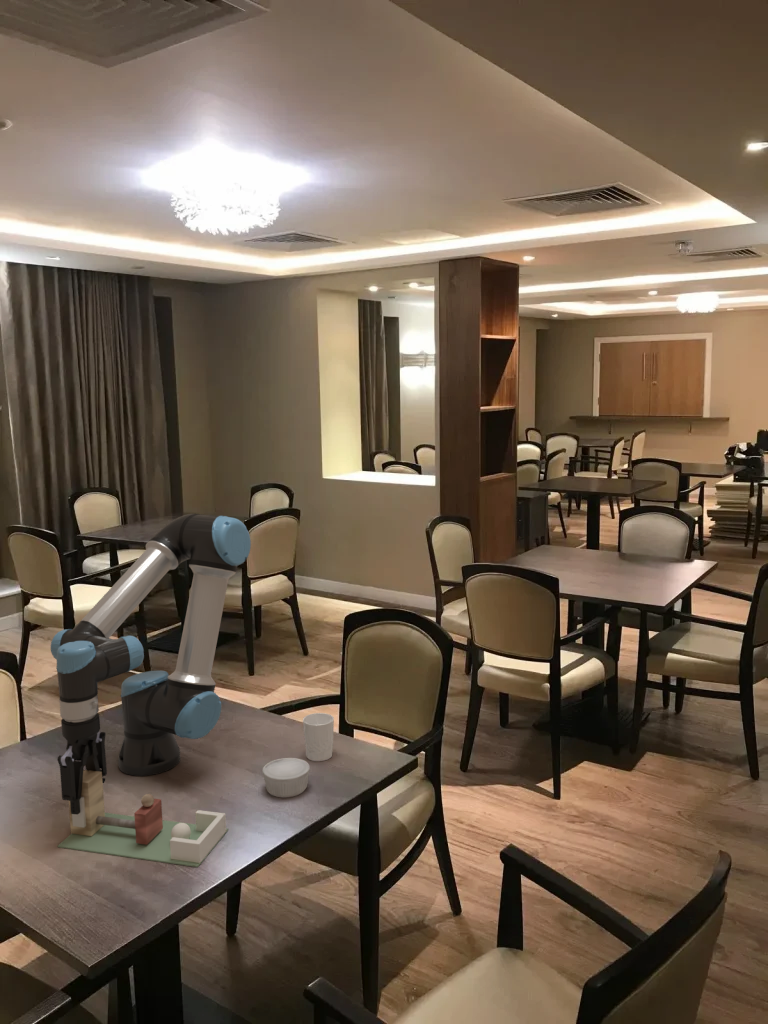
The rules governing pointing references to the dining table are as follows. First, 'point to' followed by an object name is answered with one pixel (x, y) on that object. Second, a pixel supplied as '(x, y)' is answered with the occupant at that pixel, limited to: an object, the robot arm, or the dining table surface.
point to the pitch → (131, 842)
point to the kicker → (144, 824)
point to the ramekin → (286, 777)
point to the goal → (201, 847)
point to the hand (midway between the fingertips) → (87, 818)
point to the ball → (181, 831)
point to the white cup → (318, 736)
